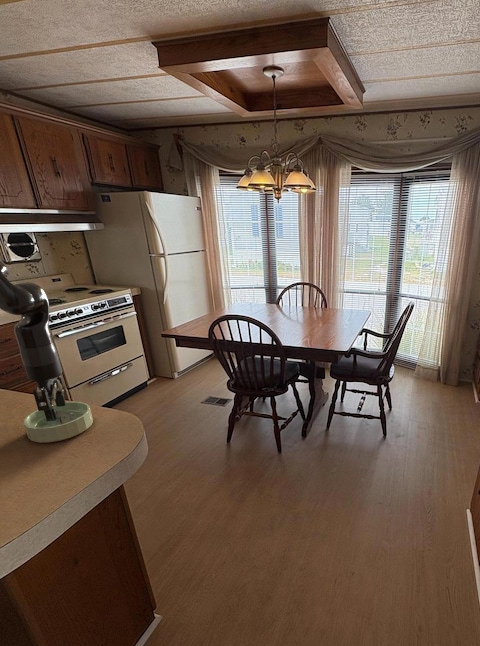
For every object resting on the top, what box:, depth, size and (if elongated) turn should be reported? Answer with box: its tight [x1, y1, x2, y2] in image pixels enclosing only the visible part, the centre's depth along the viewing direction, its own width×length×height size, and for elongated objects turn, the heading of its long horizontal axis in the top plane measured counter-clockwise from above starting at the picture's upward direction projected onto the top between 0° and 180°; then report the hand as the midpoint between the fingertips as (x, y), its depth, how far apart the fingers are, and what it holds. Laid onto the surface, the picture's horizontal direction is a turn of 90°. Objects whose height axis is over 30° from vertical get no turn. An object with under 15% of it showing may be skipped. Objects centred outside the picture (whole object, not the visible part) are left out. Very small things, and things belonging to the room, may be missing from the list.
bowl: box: [23, 401, 94, 443], centre depth 98 cm, size 15×15×5 cm
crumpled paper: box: [43, 411, 77, 427], centre depth 98 cm, size 4×8×7 cm, turn 127°
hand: (57, 412), depth 97 cm, fingers open, 8 cm apart
